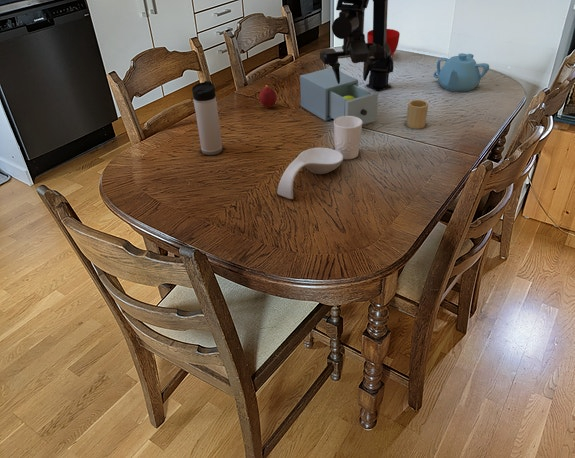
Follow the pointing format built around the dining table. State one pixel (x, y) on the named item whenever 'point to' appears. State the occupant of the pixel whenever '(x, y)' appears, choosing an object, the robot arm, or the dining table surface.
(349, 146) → the white cup
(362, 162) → the dining table surface
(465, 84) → the teapot
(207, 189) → the dining table surface
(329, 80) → the cabinet
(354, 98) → the ball
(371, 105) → the drawer
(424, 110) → the stand
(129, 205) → the dining table surface
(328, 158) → the spoon rest
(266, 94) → the onion
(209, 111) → the travel mug
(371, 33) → the ceramic cup
